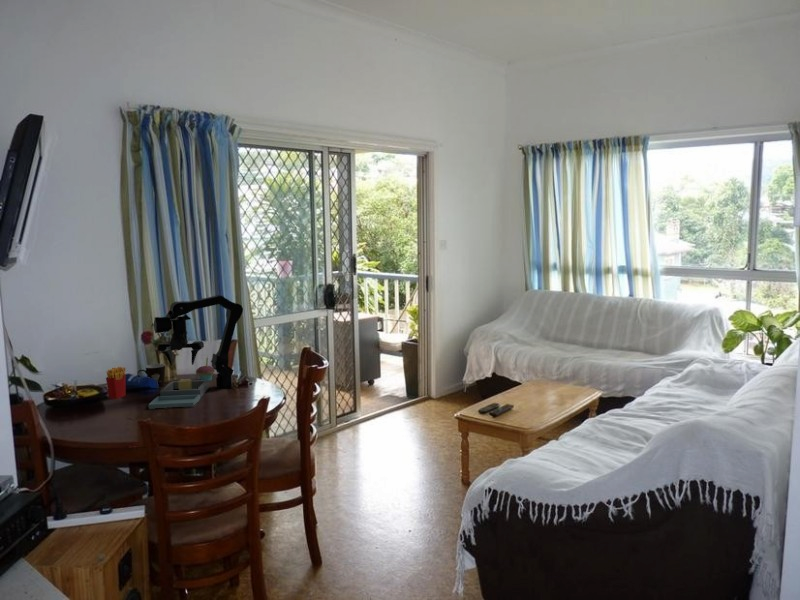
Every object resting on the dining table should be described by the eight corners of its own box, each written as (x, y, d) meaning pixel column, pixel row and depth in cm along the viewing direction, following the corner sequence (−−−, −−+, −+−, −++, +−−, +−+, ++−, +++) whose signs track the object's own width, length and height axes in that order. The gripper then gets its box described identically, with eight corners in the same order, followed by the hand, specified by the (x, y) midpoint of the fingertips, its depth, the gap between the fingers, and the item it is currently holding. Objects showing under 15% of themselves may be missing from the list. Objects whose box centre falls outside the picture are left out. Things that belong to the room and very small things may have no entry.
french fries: (112, 400, 274) (110, 370, 272) (105, 399, 276) (103, 370, 274) (129, 394, 282) (127, 366, 281) (122, 393, 284) (120, 365, 282)
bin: (209, 387, 291) (208, 379, 291) (200, 397, 274) (200, 389, 274) (171, 388, 290) (170, 381, 290) (160, 399, 273) (159, 391, 273)
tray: (200, 399, 272) (200, 394, 272) (193, 407, 260) (193, 402, 260) (157, 401, 271) (157, 396, 270) (148, 409, 259) (148, 404, 259)
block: (192, 391, 285) (191, 378, 284) (189, 394, 280) (188, 381, 279) (181, 392, 284) (180, 379, 284) (179, 394, 280) (178, 381, 279)
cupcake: (218, 379, 306) (217, 354, 305) (206, 383, 299) (205, 358, 297) (204, 377, 310) (203, 353, 308) (192, 381, 302) (190, 357, 301)
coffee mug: (170, 384, 298) (168, 363, 297) (161, 389, 290) (159, 368, 289) (146, 384, 300) (144, 363, 298) (137, 389, 291) (135, 368, 290)
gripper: (152, 334, 270) (154, 370, 272) (196, 332, 270) (198, 368, 272) (160, 330, 281) (162, 364, 283) (202, 328, 282) (205, 362, 283)
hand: (182, 365), depth 280 cm, fingers open, 9 cm apart
